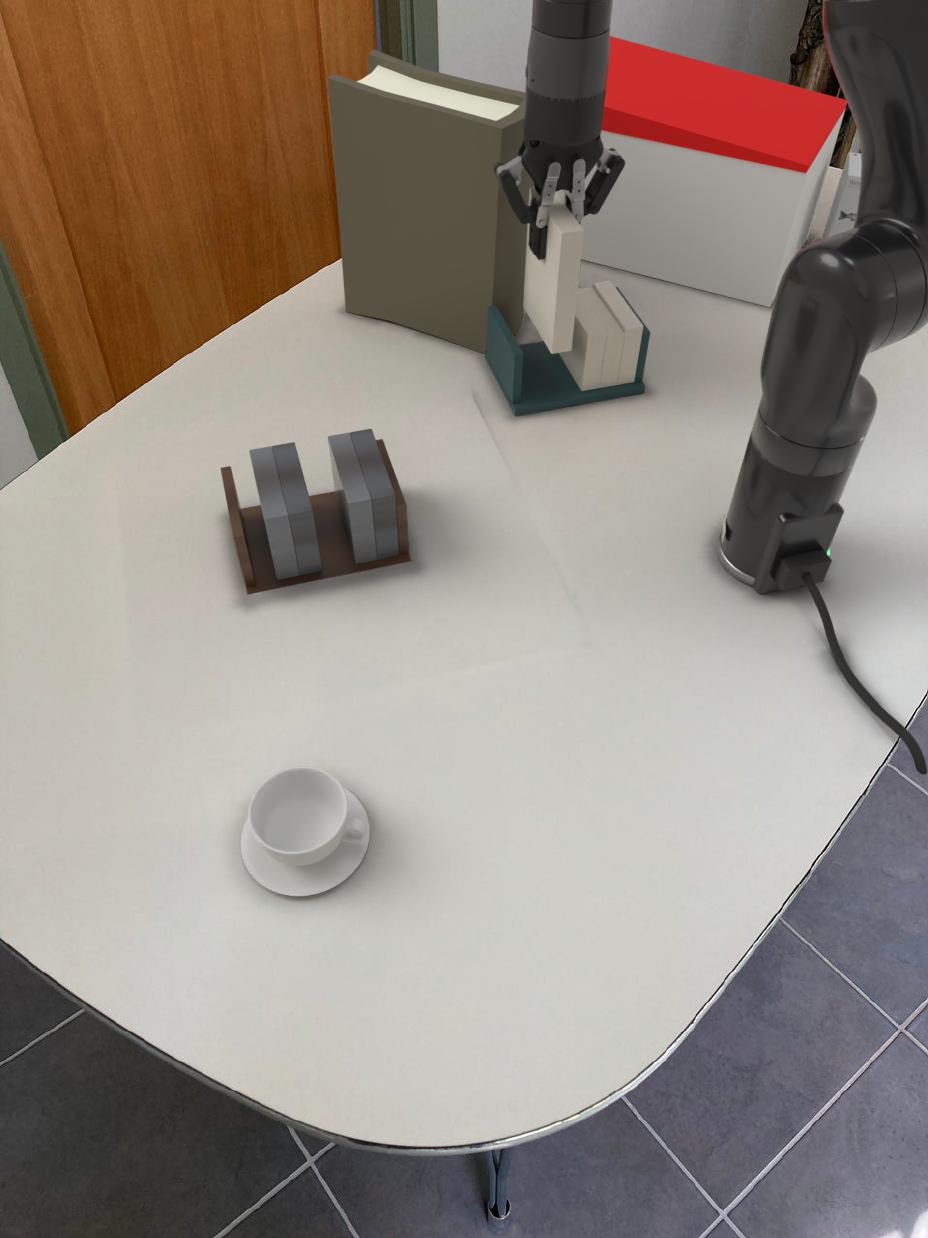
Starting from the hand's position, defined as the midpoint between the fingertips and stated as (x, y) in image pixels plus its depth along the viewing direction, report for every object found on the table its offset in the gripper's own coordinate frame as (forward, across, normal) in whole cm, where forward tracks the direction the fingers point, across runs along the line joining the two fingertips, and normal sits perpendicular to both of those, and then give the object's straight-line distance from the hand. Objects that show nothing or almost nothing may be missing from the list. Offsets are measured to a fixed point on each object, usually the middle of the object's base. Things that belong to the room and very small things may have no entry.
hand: (552, 253), depth 102 cm
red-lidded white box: (+16, +28, +26) cm, 41 cm away
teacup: (+16, -38, -52) cm, 66 cm away
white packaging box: (+16, +50, +15) cm, 54 cm away
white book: (+9, 0, 0) cm, 9 cm away
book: (+16, -8, +16) cm, 24 cm away
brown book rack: (+16, -30, -20) cm, 40 cm away
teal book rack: (+16, +2, 0) cm, 16 cm away
